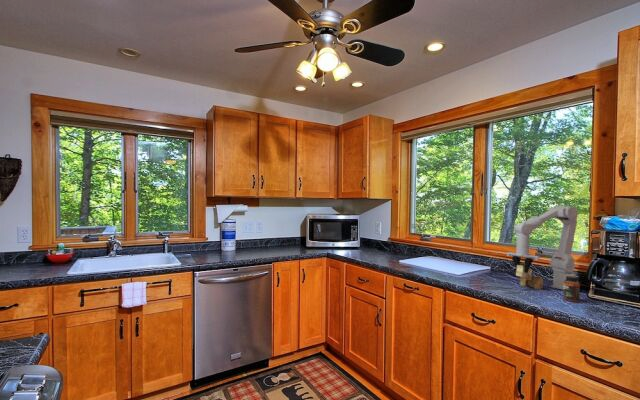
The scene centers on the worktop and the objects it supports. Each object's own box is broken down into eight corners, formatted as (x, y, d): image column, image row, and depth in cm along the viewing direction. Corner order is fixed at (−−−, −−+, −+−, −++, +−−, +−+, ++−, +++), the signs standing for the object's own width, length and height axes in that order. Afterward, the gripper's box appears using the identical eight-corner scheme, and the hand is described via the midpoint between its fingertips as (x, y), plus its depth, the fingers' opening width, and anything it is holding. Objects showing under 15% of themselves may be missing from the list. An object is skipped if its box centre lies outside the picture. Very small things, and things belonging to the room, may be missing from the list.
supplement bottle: (579, 300, 145) (580, 276, 145) (579, 303, 141) (579, 278, 141) (563, 297, 149) (564, 274, 149) (562, 300, 145) (563, 276, 145)
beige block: (525, 279, 167) (526, 269, 168) (531, 280, 165) (532, 270, 166) (515, 275, 163) (517, 265, 164) (521, 276, 160) (523, 265, 161)
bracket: (542, 288, 165) (542, 275, 165) (539, 289, 162) (539, 276, 162) (523, 284, 172) (523, 272, 172) (520, 285, 169) (520, 273, 169)
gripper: (504, 244, 167) (504, 269, 167) (535, 248, 155) (534, 275, 155) (510, 243, 171) (509, 268, 171) (541, 247, 159) (540, 273, 159)
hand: (522, 271), depth 163 cm, fingers closed on beige block, 3 cm apart
